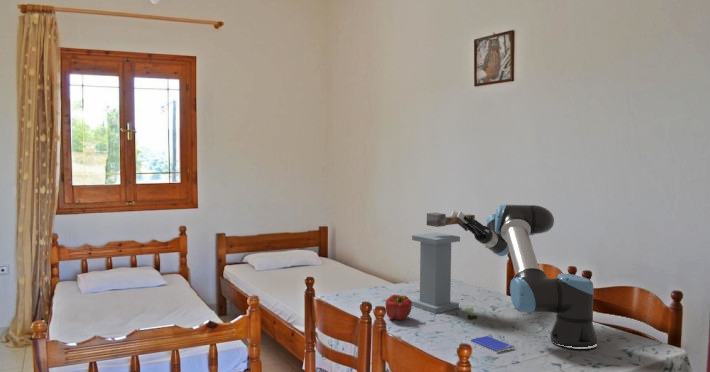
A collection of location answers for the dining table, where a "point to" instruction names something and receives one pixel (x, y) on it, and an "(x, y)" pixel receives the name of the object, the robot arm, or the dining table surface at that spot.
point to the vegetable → (398, 307)
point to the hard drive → (491, 344)
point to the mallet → (444, 219)
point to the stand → (435, 272)
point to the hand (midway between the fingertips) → (455, 213)
